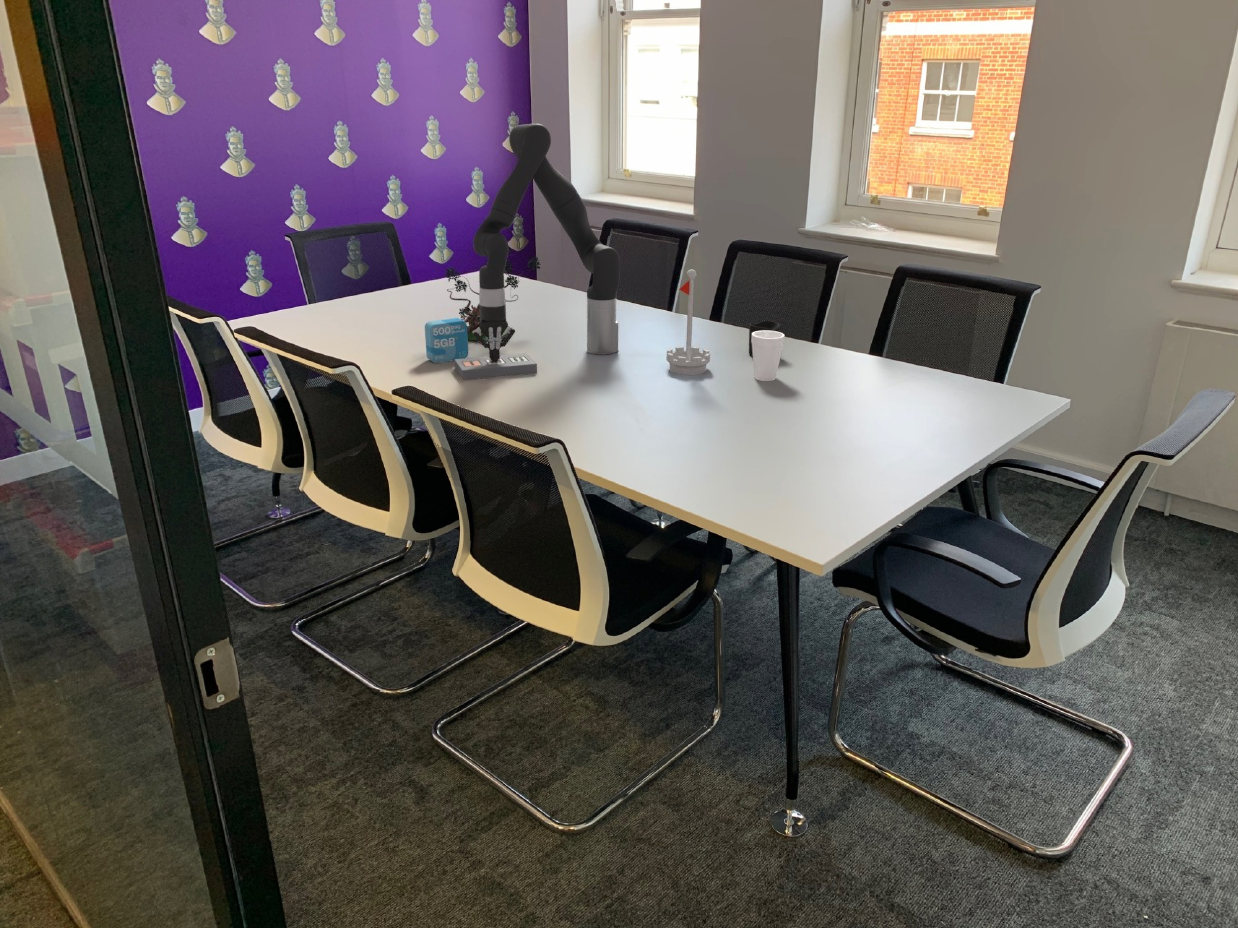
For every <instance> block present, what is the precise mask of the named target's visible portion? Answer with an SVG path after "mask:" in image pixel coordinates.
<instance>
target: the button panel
mask: <svg viewBox="0 0 1238 928" xmlns="http://www.w3.org/2000/svg"><path fill="white" fill-rule="evenodd" d="M515 357H525V358H526V359H527V360H528V361H523V362H511V361H510V360H509V358H515ZM500 359H502V360H503V361H504V362H505V363H501V364H490V365H489V364H488V363H487V362H486V360H491V359H490V357H489V355H488V356H478V357H466V358H463V359H454V370H455V371H456V373H457V374H458V375H459V377H460V379H461V380H462V381H470V380H471V381H472V380H483V379H484V380H485V379H493V378H494V379H495V378H503V377H504V378H505V377H514V376H515V377H516V376H523V375H524V376H525V375H535V374H538V364H537V362H536V361H535V360H534V359H533V358H532V357H531V356H530V355H529V354H528V353H527V352H524V353H510V354H500ZM470 361H479V363H480V364H481V365H479V366H468V367H465V366H464V365H463V362H470Z"/></svg>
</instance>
